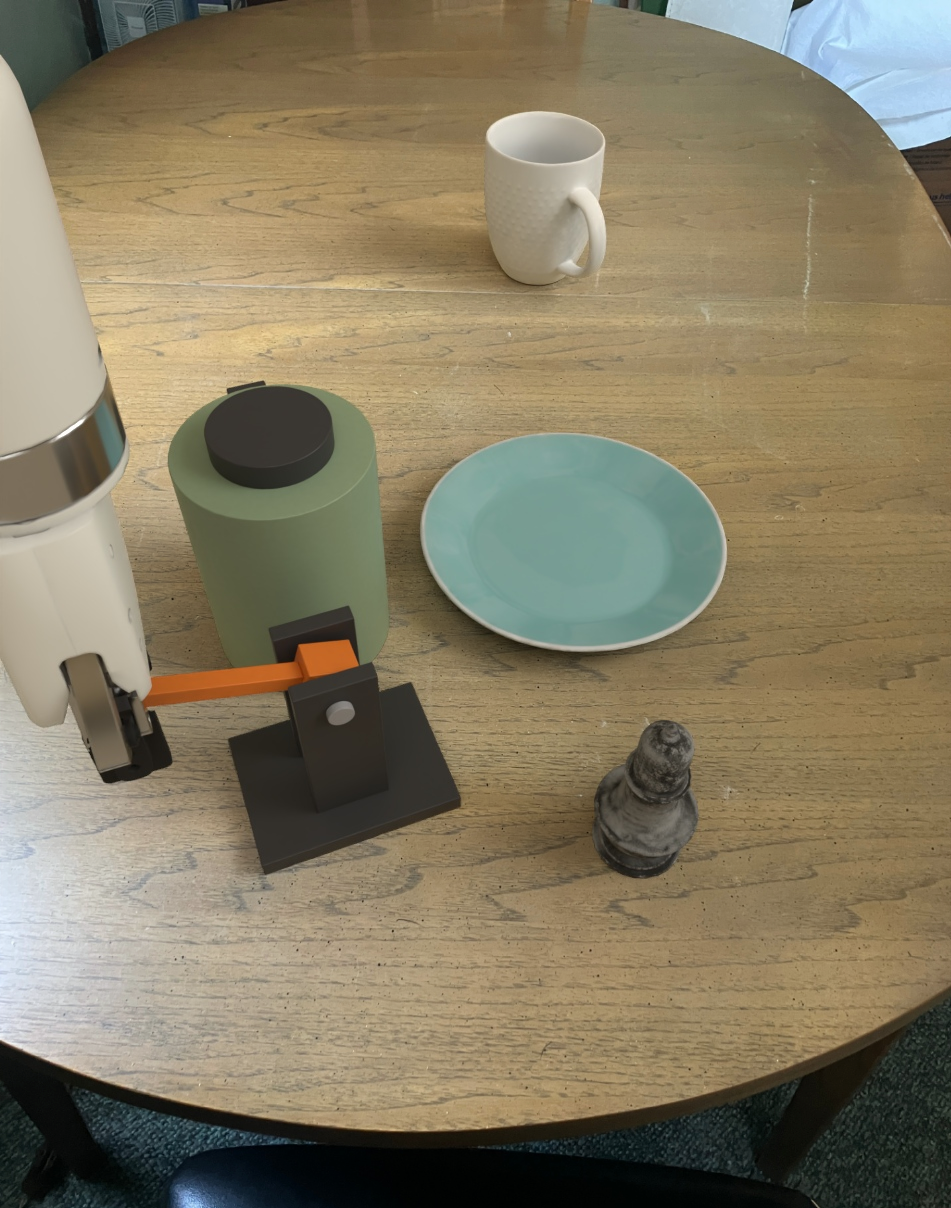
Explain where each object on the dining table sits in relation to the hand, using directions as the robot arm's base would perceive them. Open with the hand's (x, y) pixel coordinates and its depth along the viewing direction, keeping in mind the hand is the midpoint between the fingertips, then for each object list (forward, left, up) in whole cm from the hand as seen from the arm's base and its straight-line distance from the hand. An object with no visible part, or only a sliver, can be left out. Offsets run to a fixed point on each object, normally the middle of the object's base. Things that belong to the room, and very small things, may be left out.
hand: (128, 719), depth 47 cm
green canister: (+11, +12, -12) cm, 20 cm away
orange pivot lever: (+5, 0, -1) cm, 5 cm away
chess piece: (+25, -10, -12) cm, 29 cm away
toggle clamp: (+10, 0, -12) cm, 15 cm away
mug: (+45, +48, -12) cm, 67 cm away
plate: (+31, +12, -12) cm, 35 cm away
